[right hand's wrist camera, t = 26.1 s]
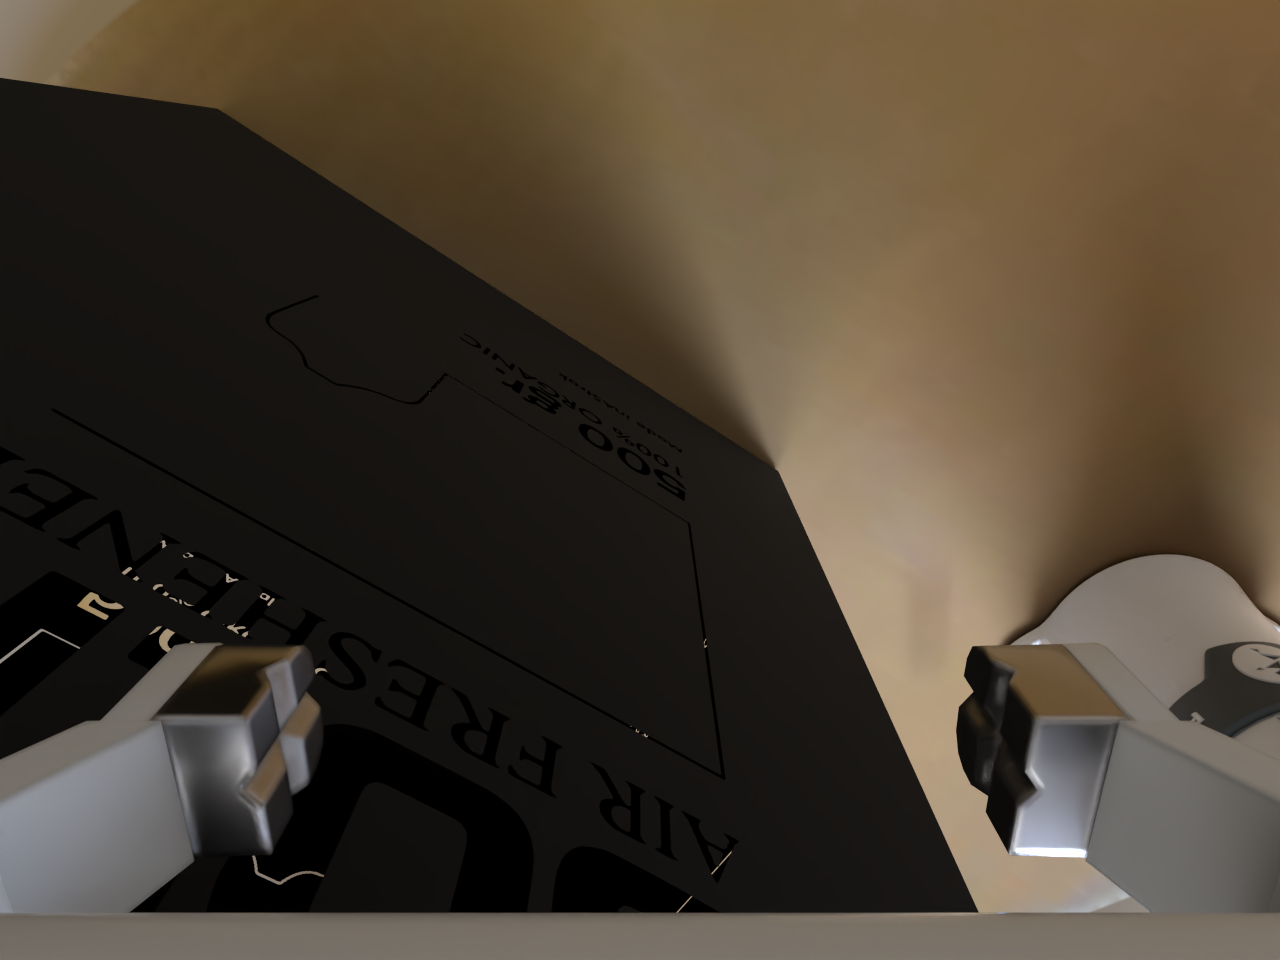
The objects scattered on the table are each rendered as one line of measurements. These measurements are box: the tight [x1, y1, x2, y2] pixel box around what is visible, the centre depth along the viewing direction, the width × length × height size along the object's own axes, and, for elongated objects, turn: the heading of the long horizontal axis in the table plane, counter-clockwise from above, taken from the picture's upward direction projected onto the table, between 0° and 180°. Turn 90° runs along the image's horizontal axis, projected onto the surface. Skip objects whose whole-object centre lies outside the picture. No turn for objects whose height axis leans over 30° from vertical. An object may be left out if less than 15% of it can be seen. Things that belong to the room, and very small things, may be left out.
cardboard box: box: [0, 78, 979, 913], centre depth 30 cm, size 38×20×45 cm, turn 57°
